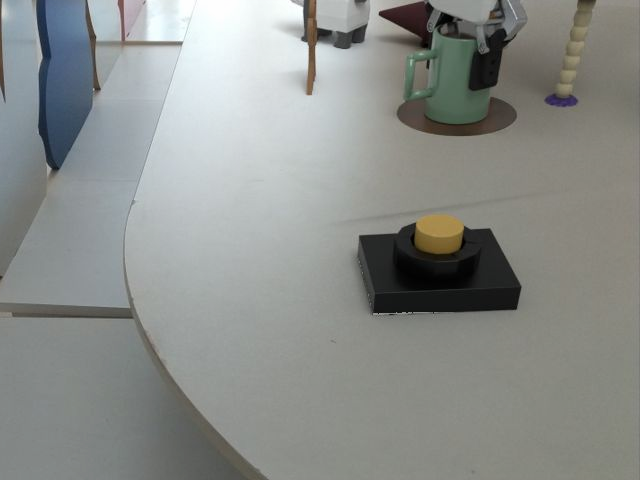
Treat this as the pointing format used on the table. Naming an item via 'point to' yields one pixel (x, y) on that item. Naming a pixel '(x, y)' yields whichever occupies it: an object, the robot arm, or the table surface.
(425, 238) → the bell button
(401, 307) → the block
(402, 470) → the table surface
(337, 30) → the giant panda
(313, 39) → the gingerbread man figurine
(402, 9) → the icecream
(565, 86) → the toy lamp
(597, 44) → the table surface
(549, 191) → the table surface
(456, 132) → the disc
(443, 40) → the mug
